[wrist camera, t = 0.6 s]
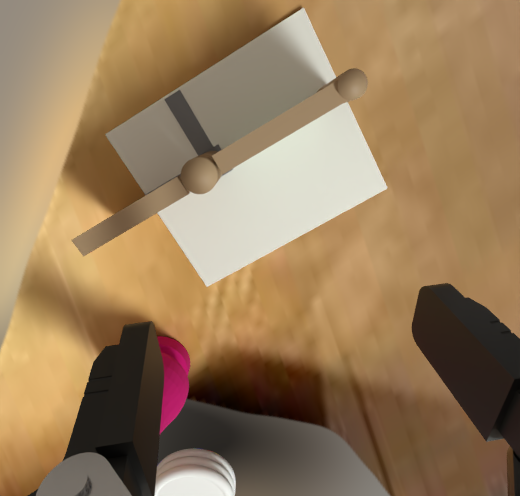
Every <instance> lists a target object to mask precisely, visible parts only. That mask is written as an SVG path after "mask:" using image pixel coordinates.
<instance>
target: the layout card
mask: <svg viewBox="0 0 520 496" xmlns="http://www.w3.org/2000/svg"><path fill="white" fill-rule="evenodd" d="M335 78H336V76H335V74H334V72H333V70H332V68H331V65H330V63H329V61H328V59H327V57H326V55H325V52H324V50H323V48H322V46H321V44H320V42H319V40H318V37H317V35H316V33H315V31H314V29H313V27H312V24H311V22H310V20H309V18H308V16H307V14H306V12H305V9H304V8H302V9H301V10H299V11H297V12H296V13H294V14H293V15H291V16H290V17H288V18H287V19H285V20H283V21H282V22H280V23H279V24H277V25H276V26H274V27H272V28H271V29H269V30H268V31H266V32H265V33H263V34H261V35H260V36H258V37H257V38H255V39H254V40H252V41H251V42H249V43H247V44H246V45H244V46H243V47H241V48H240V49H238V50H236V51H235V52H233V53H232V54H230V55H229V56H227V57H225V58H224V59H222V60H221V61H219V62H218V63H216V64H214V65H213V66H211V67H210V68H208V69H207V70H205V71H204V72H202V73H200V74H199V75H197V76H196V77H194V78H193V79H191V80H189V81H188V82H186V83H185V84H183V85H182V86H180V87H178V88H177V89H175V90H174V91H172V92H171V93H169V94H168V95H166V96H164V97H163V98H161V99H160V100H158V101H157V102H155V103H153V104H152V105H150V106H149V107H147V108H146V109H144V110H142V111H141V112H139V113H138V114H136V115H135V116H133V117H131V118H130V119H128V120H127V121H125V122H124V123H122V124H121V125H119V126H117V127H116V128H114V129H113V130H111V131H110V132H108V133H106V134H105V135H106V137H107V138H108V140H109V141H110V143H111V144H112V146H113V147H114V149H115V150H116V152H117V153H118V155H119V156H120V158H121V159H122V161H123V162H124V164H125V165H126V167H127V168H128V170H129V171H130V173H131V174H132V176H133V177H134V179H135V180H136V182H137V183H138V185H139V186H140V188H141V189H142V191H143V192H144V194H145V195H147V194H149V193H151V192H152V191H154V190H156V189H157V188H159V187H161V186H162V185H164V184H166V183H167V182H169V181H171V180H172V179H174V178H176V177H177V176H180V177H181V170H182V167H183V166H184V164H185V163H186V162H187V161H189V160H190V159H193V158H195V157H197V156H199V155H202V154H204V153H206V152H209V151H218V152H219V151H221V150H222V149H224V148H226V147H227V146H229V145H231V144H232V143H234V142H236V141H237V140H239V139H241V138H242V137H244V136H246V135H247V134H249V133H251V132H252V131H254V130H256V129H257V128H259V127H261V126H262V125H264V124H266V123H267V122H269V121H271V120H272V119H274V118H276V117H277V116H279V115H281V114H282V113H284V112H286V111H287V110H289V109H291V108H292V107H294V106H296V105H297V104H299V103H300V102H302V101H304V100H305V99H307V98H309V97H310V96H312V95H314V94H315V93H317V91H318V90H319V89H320V88H321V87H323V86H324V85H326V84H327V83H329V82H330V81H332V80H333V79H335ZM385 189H387V186H386V184H385V182H384V179H383V177H382V175H381V173H380V171H379V169H378V166H377V164H376V162H375V160H374V158H373V156H372V154H371V151H370V149H369V147H368V145H367V143H366V141H365V139H364V136H363V134H362V132H361V130H360V128H359V126H358V123H357V121H356V119H355V117H354V115H353V113H352V111H351V108H350V106H349V104H348V102H346V103H343V104H341V105H339V106H338V107H336V108H334V109H333V110H331V111H329V112H327V113H326V114H324V115H322V116H321V117H319V118H317V119H316V120H314V121H312V122H311V123H309V124H307V125H305V126H304V127H302V128H300V129H299V130H297V131H295V132H294V133H292V134H290V135H288V136H287V137H285V138H283V139H282V140H280V141H278V142H277V143H275V144H273V145H272V146H270V147H268V148H266V149H265V150H263V151H261V152H260V153H258V154H256V155H255V156H253V157H251V158H250V159H248V160H246V161H244V162H243V163H241V164H239V165H238V166H236V167H234V168H233V169H231V170H229V171H228V172H226V173H224V174H223V175H222V176H221V178H220V179H219V180H218V182H217V183H216V185H215V186H214V187H213V189H212V190H211V191H209V192H207V193H205V194H194V193H192V192H190V193H189V194H188V195H187V196H185V197H183V198H181V199H180V200H178V201H176V202H175V203H173V204H171V205H170V206H168V207H166V208H165V209H163V210H161V211H159V212H158V214H159V216H160V217H161V219H162V220H163V222H164V223H165V225H166V226H167V228H168V229H169V231H170V232H171V234H172V235H173V237H174V238H175V240H176V241H177V243H178V244H179V246H180V247H181V249H182V250H183V252H184V253H185V255H186V256H187V258H188V259H189V261H190V262H191V264H192V265H193V267H194V268H195V270H196V271H197V273H198V274H199V276H200V277H201V279H202V280H203V282H204V283H205V285H206V286H207V287H208V286H210V285H211V284H213V283H215V282H217V281H219V280H221V279H222V278H224V277H226V276H228V275H230V274H232V273H233V272H235V271H237V270H239V269H241V268H243V267H244V266H246V265H248V264H250V263H252V262H254V261H255V260H257V259H259V258H261V257H263V256H265V255H266V254H268V253H270V252H272V251H274V250H276V249H277V248H279V247H281V246H283V245H285V244H286V243H288V242H290V241H292V240H294V239H296V238H297V237H299V236H301V235H303V234H305V233H307V232H308V231H310V230H312V229H314V228H316V227H318V226H319V225H321V224H323V223H325V222H327V221H329V220H330V219H332V218H334V217H336V216H338V215H340V214H341V213H343V212H345V211H347V210H349V209H351V208H352V207H354V206H356V205H358V204H360V203H361V202H363V201H365V200H367V199H369V198H371V197H372V196H374V195H376V194H378V193H380V192H382V191H383V190H385Z"/></svg>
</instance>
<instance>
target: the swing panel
mask: <svg viewBox="0 0 520 496" xmlns="http://www.w3.org/2000/svg"><path fill="white" fill-rule="evenodd" d="M367 85H368V81H367V77H366V75H365V74H364V72H363V71H361V70H359V69H349V70H347V71H346V72H344V73H343V74H341V75H340V76H338V77H336V78H335V79H333V80H332V81H330V82H329V83H327V84H326V85H324V86H323V87H321V88H320V89H319V90H318V91H317V93H315V94H314V95H312V96H310V97H309V98H307V99H305V100H304V101H302V102H300V103H299V104H297V105H296V106H294V107H292V108H291V109H289V110H287V111H286V112H284V113H282V114H281V115H279V116H277V117H276V118H274V119H272V120H271V121H269V122H267V123H266V124H264V125H262V126H261V127H259V128H257V129H256V130H254V131H252V132H251V133H249V134H247V135H246V136H244V137H242V138H241V139H239V140H237V141H236V142H234V143H232V144H231V145H229V146H227V147H226V148H224V149H222V150H221V151H219V152H217V153H216V154H214V155H212V157H213V159H214V160H215V162H216V164H217V165H218V167H219V169H220V170H221V172H222V174H224V173H226V172H228V171H229V170H231V169H233V168H234V167H236V166H238V165H239V164H241V163H243V162H244V161H246V160H248V159H250V158H251V157H253V156H255V155H256V154H258V153H260V152H261V151H263V150H265V149H266V148H268V147H270V146H272V145H273V144H275V143H277V142H278V141H280V140H282V139H283V138H285V137H287V136H288V135H290V134H292V133H294V132H295V131H297V130H299V129H300V128H302V127H304V126H305V125H307V124H309V123H311V122H312V121H314V120H316V119H317V118H319V117H321V116H322V115H324V114H326V113H327V112H329V111H331V110H333V109H334V108H336V107H338V106H339V105H341V104H343V103H346V102H349V101H352V100H355V99H358V98H360V97H361V96H362V95H363V94H364V93H365V91H366V89H367Z"/></svg>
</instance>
